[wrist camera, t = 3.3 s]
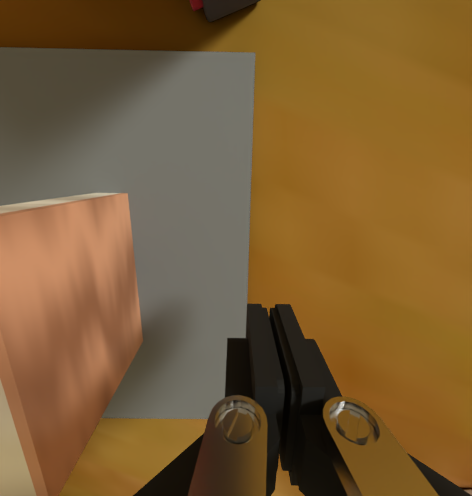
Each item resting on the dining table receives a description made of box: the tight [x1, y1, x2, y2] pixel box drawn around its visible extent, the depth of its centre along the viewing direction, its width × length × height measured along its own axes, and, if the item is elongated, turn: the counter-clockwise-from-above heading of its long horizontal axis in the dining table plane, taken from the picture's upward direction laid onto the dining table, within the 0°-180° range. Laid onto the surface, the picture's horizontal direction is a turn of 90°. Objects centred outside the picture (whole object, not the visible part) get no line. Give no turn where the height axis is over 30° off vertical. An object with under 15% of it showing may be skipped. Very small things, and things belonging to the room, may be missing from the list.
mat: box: [0, 47, 255, 419], centre depth 16 cm, size 24×19×1 cm
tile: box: [0, 193, 143, 496], centre depth 12 cm, size 10×2×9 cm, turn 179°
